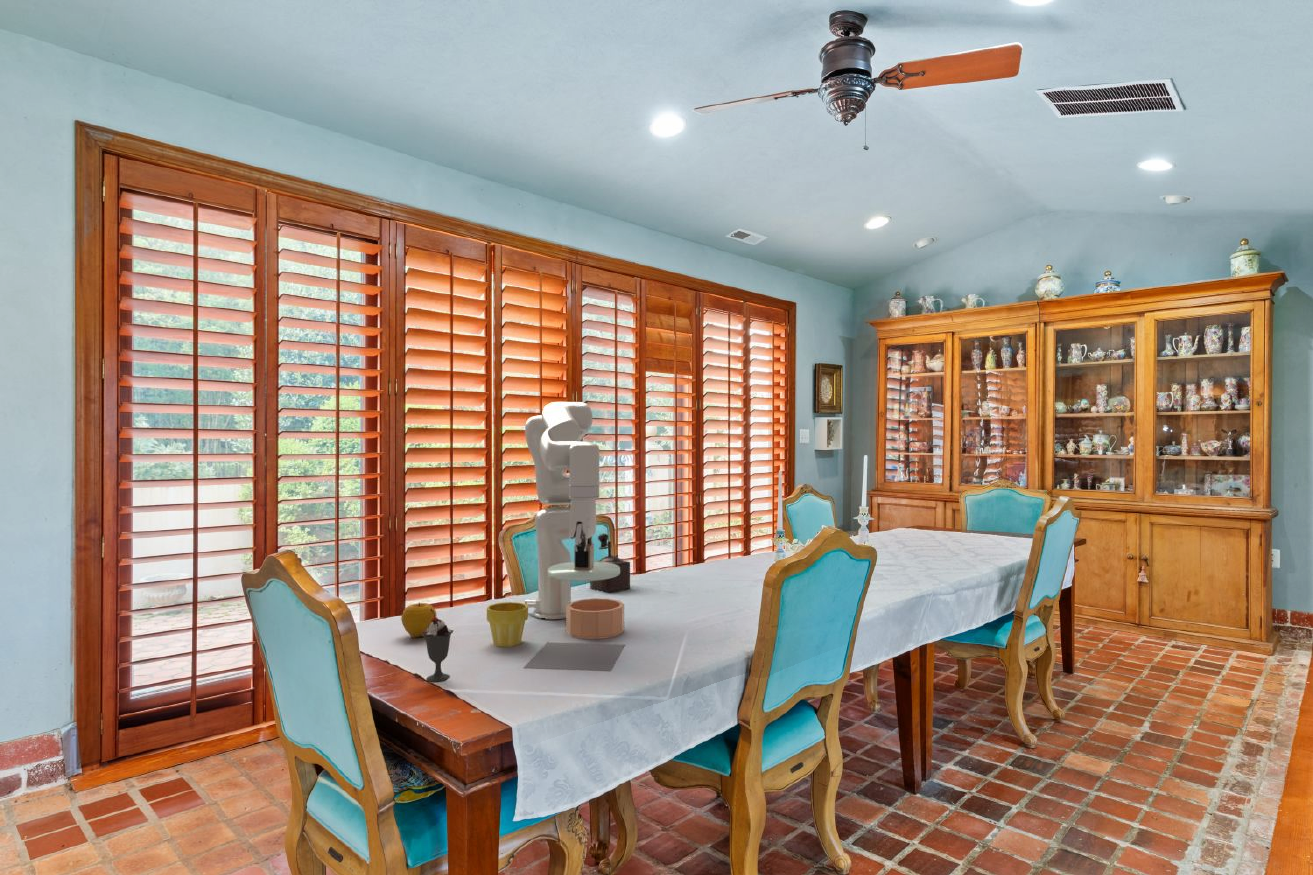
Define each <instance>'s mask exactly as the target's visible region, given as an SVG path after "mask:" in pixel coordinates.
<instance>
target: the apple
mask: <svg viewBox="0 0 1313 875" xmlns="http://www.w3.org/2000/svg"><path fill="white" fill-rule="evenodd" d="M430 609H432V610H433V612H434V613H435V617H437V611H436V609H435V607H433V605H432V604H431V603H428V602H427V603H426V602H418V603H413V604H409V605H407V606H406V607H405V608H404V610H403V612H402V614H401V617H400V619H401V623H402V627H404V630H405V631H406V632H407V633H408V635H410V637H411V638H420V637H423V635H422V632H424V631H427V628H428V626H429V625H430V624H431V620H432V619H433V618H434V613H433V612H432V611H430Z"/></svg>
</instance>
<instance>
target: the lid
mask: <svg viewBox="0 0 1313 875" xmlns="http://www.w3.org/2000/svg"><path fill="white" fill-rule="evenodd" d="M575 546H576V545H574V559H573V560H574V561H571V562H567V563H561V564H556V565H553V566H551V567H549V568H548V575H549V576H550V577H552V578H554V579H559V580H565V581H571V582H590V581H597V580H605V579H610V578H613V577H616V576H618V575H619V574H620V567H619V566H618V565H615V564H612V563H606V562H595V550H594V548H595V544H594V542H593V543H587V551H588V567H587V568H582V567H576V566H575Z"/></svg>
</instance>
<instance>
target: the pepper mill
mask: <svg viewBox="0 0 1313 875" xmlns="http://www.w3.org/2000/svg"><path fill="white" fill-rule="evenodd" d="M597 539H598V541H599V542H600V547H598V550H599V551H600V550H607V552H608V553H607V556H604V557H602V558H601V559H600V560H596V561H595V560H594V561H595V562H606V563H612V564H615V565H618V566H619V567H620V574H619V575H618V576H616V577H613V578H610V579H605V580H597V581H589V589H590V590H592V591H593V590H594V591H597V590H598V591H597V592H601V591H602V592H601V593H606V594H611V593H615V592H620V591H626V590H630V589H631V562H630V561H627V560H624V559H622V558H619V555H618V554H616V555H612V551H611V550H612V547H613V546H612V542H611V541H610V540H609V534H607V533H600V534H599V535H598V536H597Z"/></svg>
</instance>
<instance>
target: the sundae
mask: <svg viewBox="0 0 1313 875" xmlns="http://www.w3.org/2000/svg"><path fill="white" fill-rule="evenodd" d="M430 611H432V612H433V610H432V609H430ZM433 613H434V612H433ZM453 633H454V630H453V629H450V628H449V627H448V626H447V624H446V622H444V621H443V620H442V619H439V618H438V617H437V616H436V617H435V613H434V618H433V619H432V620H431V624H430V625H429V626H428V628H427V631H424V632H422V635H423V636H422V637H423V638H425V642H426V649H427V654H428V658H429V660H431V661H432V662H433V663H434V665H435V669H434V670H435V671H434V673H433V674H431V675H428V676H427V677H426V681H428V682H429V683H440V682H445V681H447V680H449V678H451V676H450V674H448V673H444V672H443V671H442V663H443V661H445V659H446V658H447V657H448V654H449V650H450V641H451V635H452V634H453Z"/></svg>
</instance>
